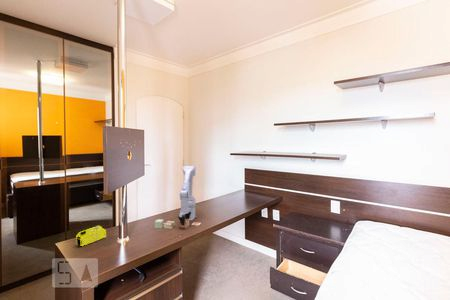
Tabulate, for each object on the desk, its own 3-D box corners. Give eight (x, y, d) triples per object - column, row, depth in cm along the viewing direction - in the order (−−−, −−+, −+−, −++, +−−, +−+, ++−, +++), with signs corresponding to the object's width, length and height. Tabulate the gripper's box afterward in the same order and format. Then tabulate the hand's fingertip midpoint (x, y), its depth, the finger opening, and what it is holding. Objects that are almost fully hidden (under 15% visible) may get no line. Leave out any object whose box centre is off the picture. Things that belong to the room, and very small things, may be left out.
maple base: (168, 225, 169) (168, 220, 169) (175, 226, 167) (175, 221, 167) (163, 228, 163) (163, 223, 163) (170, 229, 161) (170, 224, 161)
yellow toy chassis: (101, 236, 151) (101, 224, 150) (106, 238, 148) (106, 225, 147) (76, 246, 137) (75, 233, 136) (81, 248, 134) (80, 234, 134)
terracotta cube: (183, 224, 169) (183, 218, 169) (189, 225, 168) (189, 219, 167) (180, 227, 164) (180, 220, 164) (186, 228, 163) (186, 221, 163)
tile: (194, 222, 173) (193, 221, 173) (201, 223, 171) (201, 222, 171) (191, 224, 168) (191, 224, 168) (198, 225, 167) (198, 224, 167)
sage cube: (157, 225, 168) (157, 219, 168) (163, 225, 168) (163, 219, 167) (154, 228, 163) (154, 221, 163) (161, 228, 163) (161, 221, 162)
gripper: (184, 202, 173) (184, 219, 174) (175, 208, 159) (175, 226, 160) (192, 203, 171) (192, 220, 172) (183, 208, 157) (184, 227, 158)
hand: (185, 223), depth 166 cm, fingers open, 7 cm apart
